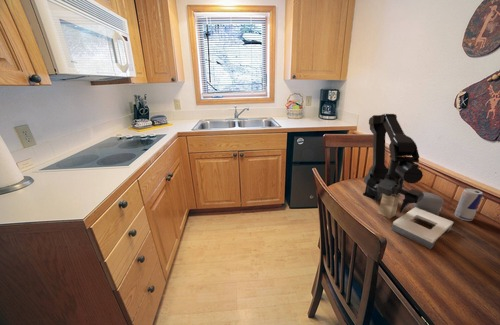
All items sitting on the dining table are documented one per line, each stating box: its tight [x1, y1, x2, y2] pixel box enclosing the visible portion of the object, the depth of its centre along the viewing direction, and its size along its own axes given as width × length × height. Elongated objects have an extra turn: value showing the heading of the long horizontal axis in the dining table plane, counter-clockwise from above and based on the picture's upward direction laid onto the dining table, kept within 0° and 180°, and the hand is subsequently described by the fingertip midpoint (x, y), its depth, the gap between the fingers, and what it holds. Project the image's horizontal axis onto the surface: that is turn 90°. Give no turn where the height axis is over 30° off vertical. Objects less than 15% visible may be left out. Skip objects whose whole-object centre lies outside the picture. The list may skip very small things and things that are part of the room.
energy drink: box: [454, 187, 484, 222], centre depth 82 cm, size 5×5×12 cm
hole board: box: [390, 207, 454, 250], centre depth 77 cm, size 12×18×4 cm, turn 122°
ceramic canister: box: [413, 191, 445, 216], centre depth 87 cm, size 8×8×7 cm
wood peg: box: [377, 193, 402, 219], centre depth 85 cm, size 4×4×10 cm
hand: (388, 207), depth 86 cm, fingers open, 9 cm apart
